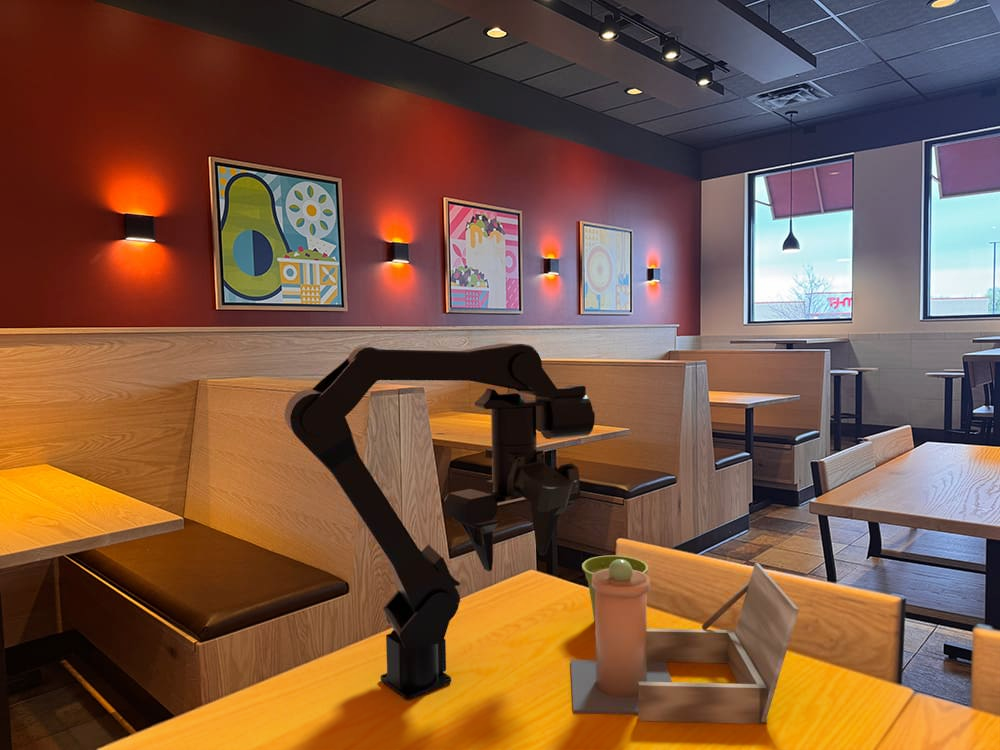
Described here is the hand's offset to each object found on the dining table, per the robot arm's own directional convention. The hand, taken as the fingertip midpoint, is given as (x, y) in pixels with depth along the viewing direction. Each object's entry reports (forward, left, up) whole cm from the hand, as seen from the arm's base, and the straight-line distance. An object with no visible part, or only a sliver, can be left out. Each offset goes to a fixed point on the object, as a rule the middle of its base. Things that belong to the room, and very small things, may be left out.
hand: (516, 562), depth 90 cm
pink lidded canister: (+5, -13, -13) cm, 19 cm away
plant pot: (+18, -1, -13) cm, 22 cm away
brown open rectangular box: (+12, -20, -13) cm, 27 cm away
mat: (+5, -13, -13) cm, 19 cm away
